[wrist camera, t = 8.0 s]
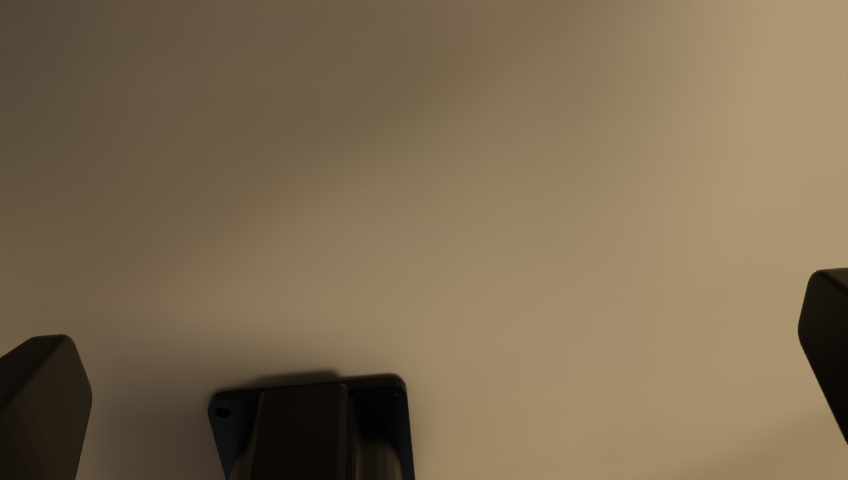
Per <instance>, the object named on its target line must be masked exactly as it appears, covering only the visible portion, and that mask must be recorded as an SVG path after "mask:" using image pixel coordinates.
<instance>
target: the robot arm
mask: <svg viewBox="0 0 848 480" xmlns="http://www.w3.org/2000/svg"><path fill="white" fill-rule="evenodd" d="M798 336H799V340H800V344H801V346H802V348H803V351H804V353H805V355H806V357H807V359H808V361H809V364H810V366H811V368H812V370H813V372H814V374H815V377H816V379H817V381H818V383H819V385H820V387H821V390H822V392H823V394H824V396H825V398H826V400H827V403H828V405H829V407H830V409H831V411H832V413H833V416H834V418H835V420H836V422H837V424H838V426H839V429H840V431H841V433H842V435H843V437H844V439H845V441H846V443H847V445H848V268H835V269H824V270H818V271H816V272H814V273H813V274H812V275H811V277H810V278H809V281H808V285H807V289H806V293H805V297H804V301H803V306H802V310H801V314H800V318H799V322H798ZM390 391H395V392H397V393H396V394H393V395H390V394H387V392H390ZM91 405H92V391H91V386H90V383H89V380H88V378H87V375H86V372H85V370H84V367H83V364H82V361H81V359H80V356H79V353H78V351H77V348H76V345H75V343H74V341H73V340H72V339H71V338H70V337H69V336H67V335H65V334H59V335H46V336H35V337H32V338H30V339H28V340H27V341H25V342H24V343H22V344H21V345H19V346H18V347H16V348H15V349H13V350H12V351H10V352H9V353H7V354H6V355H4V356H3V357H1V358H0V480H75V478H76V474H77V469H78V465H79V460H80V455H81V451H82V446H83V442H84V437H85V433H86V428H87V424H88V419H89V415H90V410H91ZM220 406H226V407H228V408H229V409H222V408H220ZM208 416H209V420H210V424H211V427H212V431H213V434H214V438H215V442H216V445H217V449H218V453H219V456H220V460H221V464H222V467H223V471H224V474H225V478H226V480H415V473H414V463H413V452H412V441H411V430H410V420H409V409H408V398H407V388H406V385H405V383H404V382H403V381H402V380H401V379H398V378H394V377H388V378H376V379H365V380H353V381H342V382H330V383H319V384H308V385H296V386H285V387H273V388H262V389H250V390H239V391H228V392H220V393H216V394H215V395H213V396H212V397H211V399H210V402H209V406H208Z"/></svg>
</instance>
